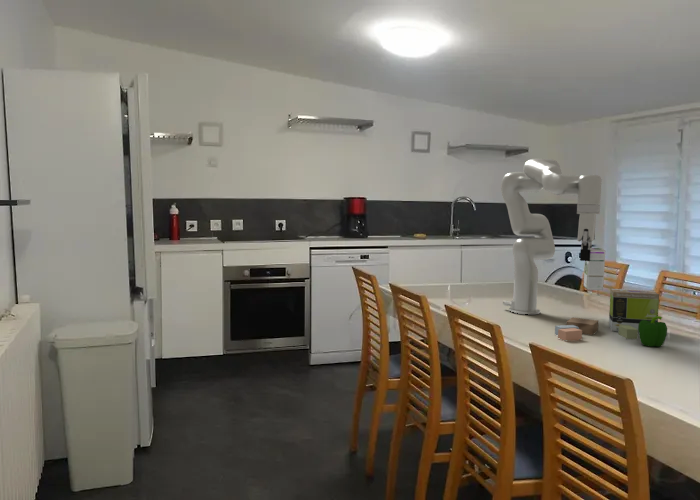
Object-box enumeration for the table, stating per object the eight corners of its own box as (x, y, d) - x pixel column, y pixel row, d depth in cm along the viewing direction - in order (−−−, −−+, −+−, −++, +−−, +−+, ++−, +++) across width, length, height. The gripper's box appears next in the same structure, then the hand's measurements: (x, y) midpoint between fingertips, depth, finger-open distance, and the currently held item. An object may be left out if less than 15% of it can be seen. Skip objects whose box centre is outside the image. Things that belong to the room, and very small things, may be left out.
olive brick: (637, 339, 192) (637, 329, 192) (626, 339, 193) (627, 329, 192) (628, 334, 199) (629, 325, 199) (618, 334, 200) (619, 324, 199)
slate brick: (560, 337, 193) (560, 327, 193) (554, 335, 197) (555, 325, 197) (578, 337, 195) (579, 327, 195) (572, 334, 198) (573, 325, 198)
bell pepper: (631, 344, 185) (633, 314, 185) (646, 341, 189) (648, 312, 189) (655, 350, 178) (657, 319, 177) (671, 347, 182) (673, 316, 181)
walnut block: (566, 332, 203) (566, 321, 202) (572, 327, 210) (572, 317, 210) (592, 336, 198) (593, 324, 197) (597, 331, 205) (598, 320, 205)
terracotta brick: (565, 341, 188) (565, 331, 188) (557, 339, 191) (558, 329, 191) (581, 340, 190) (582, 330, 190) (574, 338, 194) (574, 328, 193)
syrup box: (603, 290, 199) (606, 250, 197) (586, 289, 200) (589, 249, 198) (599, 287, 205) (602, 247, 202) (582, 286, 206) (585, 247, 203)
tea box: (652, 329, 208) (654, 289, 207) (657, 335, 199) (660, 294, 198) (608, 325, 213) (610, 287, 212) (611, 331, 204) (613, 291, 202)
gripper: (579, 209, 209) (577, 257, 211) (574, 209, 194) (571, 261, 196) (601, 210, 206) (599, 258, 207) (598, 210, 191) (595, 262, 192)
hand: (585, 259), depth 201 cm, fingers closed on syrup box, 6 cm apart
